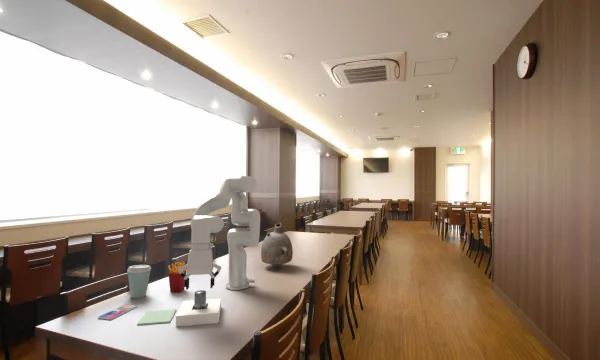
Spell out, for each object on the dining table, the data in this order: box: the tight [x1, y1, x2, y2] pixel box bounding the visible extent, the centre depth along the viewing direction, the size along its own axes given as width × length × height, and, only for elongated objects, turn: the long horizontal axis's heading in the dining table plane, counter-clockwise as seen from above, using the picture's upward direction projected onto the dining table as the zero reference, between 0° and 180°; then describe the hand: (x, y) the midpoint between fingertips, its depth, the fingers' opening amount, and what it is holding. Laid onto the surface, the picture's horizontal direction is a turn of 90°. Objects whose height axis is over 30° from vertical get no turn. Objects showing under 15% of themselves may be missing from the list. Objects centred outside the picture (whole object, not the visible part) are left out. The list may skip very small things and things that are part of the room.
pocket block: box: [175, 297, 222, 327], centre depth 126 cm, size 16×16×4 cm
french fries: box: [167, 260, 187, 294], centre depth 158 cm, size 9×8×15 cm
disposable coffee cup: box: [126, 264, 152, 299], centre depth 150 cm, size 11×11×15 cm
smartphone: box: [97, 303, 138, 321], centre depth 129 cm, size 7×1×15 cm
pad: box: [136, 309, 177, 326], centre depth 124 cm, size 12×12×1 cm
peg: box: [193, 289, 207, 310], centre depth 126 cm, size 5×5×10 cm
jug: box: [260, 222, 294, 268], centre depth 204 cm, size 24×21×30 cm
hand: (199, 288), depth 125 cm, fingers open, 9 cm apart
